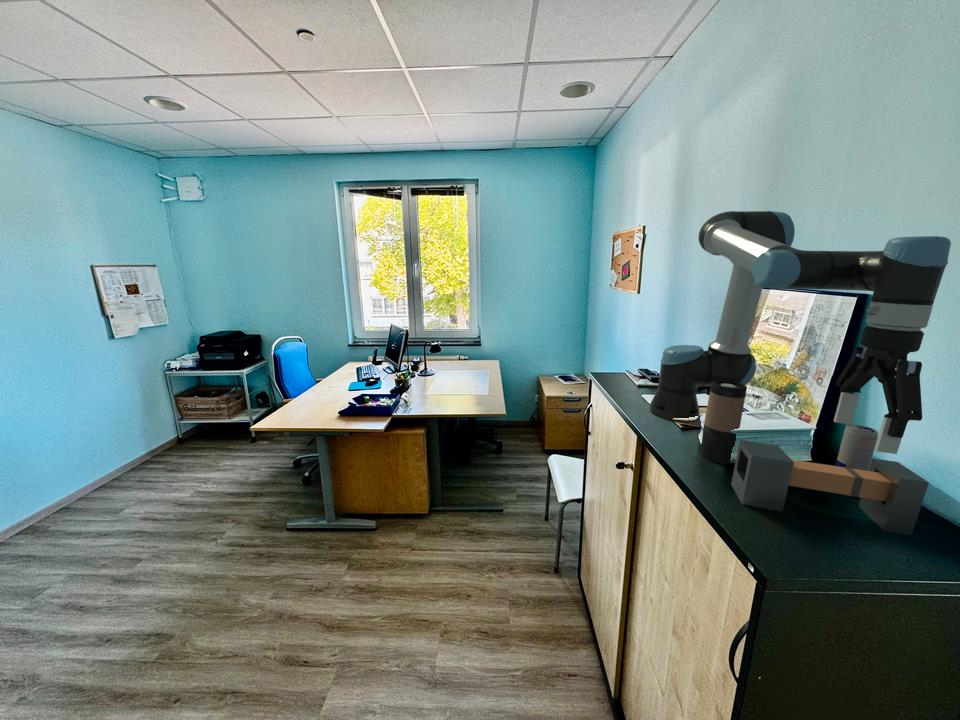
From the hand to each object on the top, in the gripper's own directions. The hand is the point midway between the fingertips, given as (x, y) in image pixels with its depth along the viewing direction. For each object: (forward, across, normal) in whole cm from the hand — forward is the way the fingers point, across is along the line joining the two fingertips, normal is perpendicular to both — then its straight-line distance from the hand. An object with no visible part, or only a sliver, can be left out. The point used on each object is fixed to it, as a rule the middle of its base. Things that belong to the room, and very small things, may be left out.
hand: (862, 436), depth 73 cm
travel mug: (+17, -18, -18) cm, 31 cm away
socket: (+17, 0, +7) cm, 18 cm away
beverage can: (+17, -10, +6) cm, 21 cm away
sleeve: (+17, 0, -15) cm, 22 cm away
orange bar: (+12, 0, -4) cm, 12 cm away
